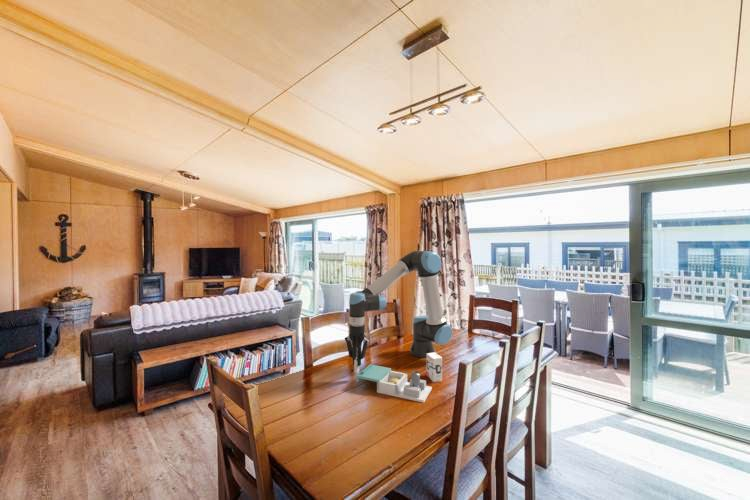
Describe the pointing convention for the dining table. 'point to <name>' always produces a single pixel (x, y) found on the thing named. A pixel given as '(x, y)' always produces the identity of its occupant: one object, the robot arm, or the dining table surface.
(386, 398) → the dining table surface
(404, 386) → the housing
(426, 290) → the robot arm
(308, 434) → the dining table surface
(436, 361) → the ink box
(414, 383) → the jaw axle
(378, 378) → the lid
